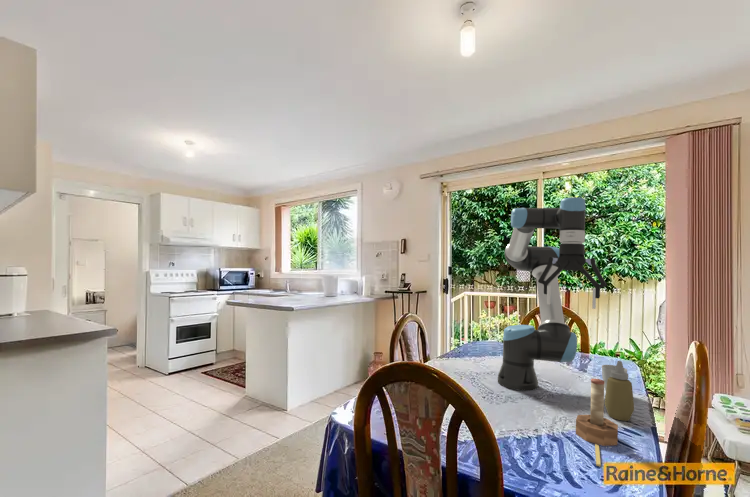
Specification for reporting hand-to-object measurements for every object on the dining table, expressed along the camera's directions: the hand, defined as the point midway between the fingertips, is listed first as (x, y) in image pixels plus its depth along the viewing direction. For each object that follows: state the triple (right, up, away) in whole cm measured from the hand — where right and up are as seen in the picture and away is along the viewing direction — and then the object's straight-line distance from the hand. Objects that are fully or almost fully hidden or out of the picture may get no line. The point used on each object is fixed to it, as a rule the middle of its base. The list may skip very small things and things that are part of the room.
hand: (570, 306), depth 123 cm
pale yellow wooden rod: (-9, -34, -30) cm, 46 cm away
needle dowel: (-3, -34, -19) cm, 39 cm away
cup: (+25, -36, +15) cm, 46 cm away
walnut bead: (-3, -34, -19) cm, 39 cm away
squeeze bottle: (+13, -35, -6) cm, 38 cm away
